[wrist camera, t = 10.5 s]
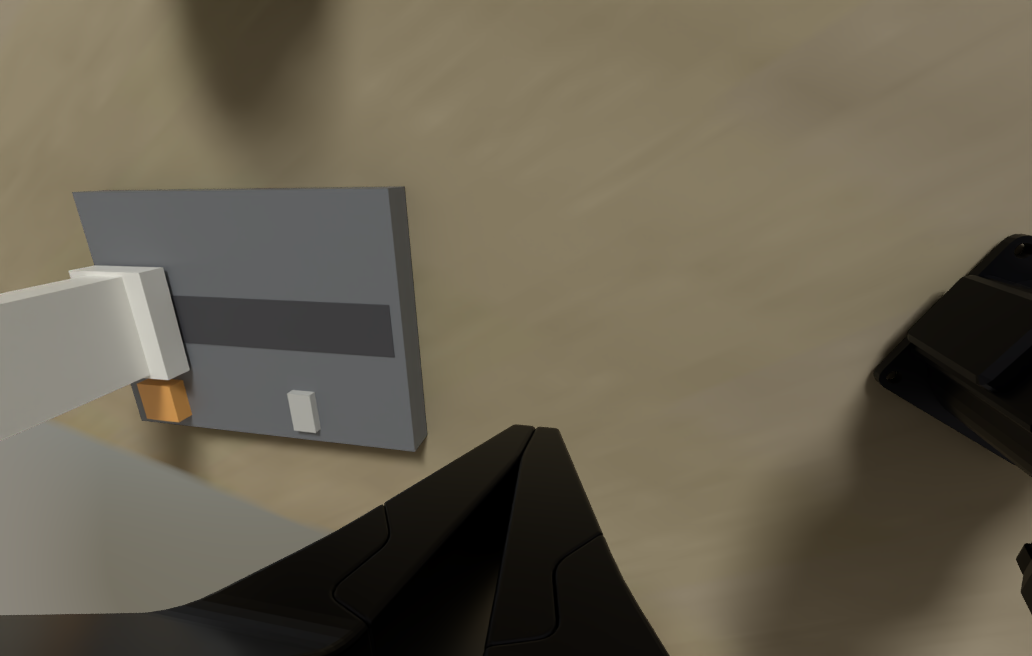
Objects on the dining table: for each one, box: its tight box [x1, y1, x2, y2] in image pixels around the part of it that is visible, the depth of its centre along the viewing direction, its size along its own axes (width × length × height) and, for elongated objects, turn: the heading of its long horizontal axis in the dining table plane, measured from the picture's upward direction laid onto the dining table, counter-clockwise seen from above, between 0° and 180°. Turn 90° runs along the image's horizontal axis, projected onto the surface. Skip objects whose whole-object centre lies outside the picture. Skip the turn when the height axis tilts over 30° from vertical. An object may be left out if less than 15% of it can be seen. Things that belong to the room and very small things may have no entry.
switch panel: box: [72, 187, 427, 452], centre depth 23 cm, size 16×12×2 cm
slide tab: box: [0, 265, 190, 441], centre depth 19 cm, size 4×5×10 cm
